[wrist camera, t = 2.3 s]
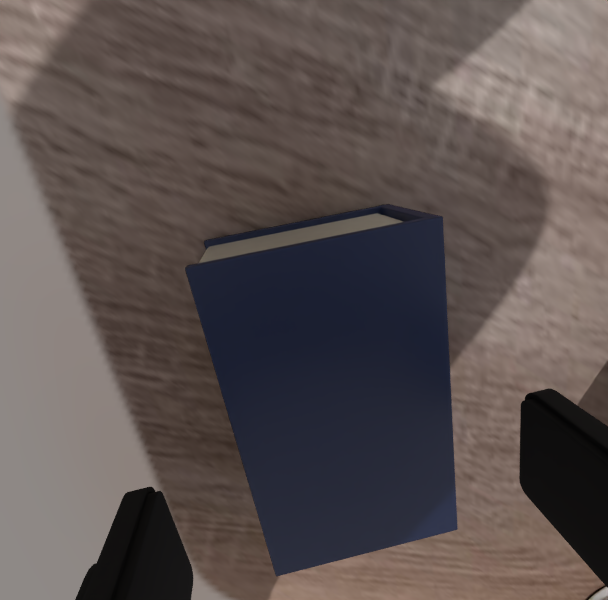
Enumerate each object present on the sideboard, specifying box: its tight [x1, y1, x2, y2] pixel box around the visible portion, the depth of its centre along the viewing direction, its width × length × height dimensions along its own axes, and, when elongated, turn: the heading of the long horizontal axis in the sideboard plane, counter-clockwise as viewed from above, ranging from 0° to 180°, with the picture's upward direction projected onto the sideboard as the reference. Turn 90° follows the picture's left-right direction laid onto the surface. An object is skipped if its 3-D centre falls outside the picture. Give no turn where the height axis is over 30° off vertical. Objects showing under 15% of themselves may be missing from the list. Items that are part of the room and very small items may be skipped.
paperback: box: [185, 204, 457, 576], centre depth 13 cm, size 11×6×4 cm, turn 10°
